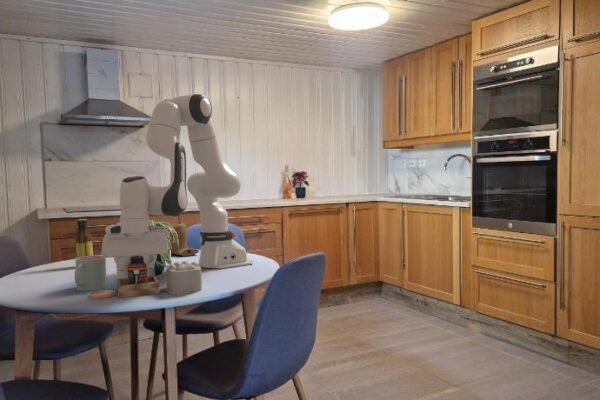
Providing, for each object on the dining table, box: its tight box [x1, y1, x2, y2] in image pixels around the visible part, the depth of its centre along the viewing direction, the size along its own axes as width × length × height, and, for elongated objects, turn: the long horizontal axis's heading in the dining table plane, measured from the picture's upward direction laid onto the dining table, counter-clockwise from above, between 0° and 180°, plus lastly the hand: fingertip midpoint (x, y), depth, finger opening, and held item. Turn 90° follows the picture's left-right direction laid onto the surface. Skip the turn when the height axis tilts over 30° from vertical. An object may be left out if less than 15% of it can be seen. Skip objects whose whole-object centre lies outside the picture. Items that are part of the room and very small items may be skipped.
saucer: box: [89, 289, 117, 300], centre depth 145 cm, size 8×8×1 cm
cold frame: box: [115, 255, 160, 298], centre depth 152 cm, size 12×16×14 cm
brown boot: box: [170, 222, 200, 257], centre depth 219 cm, size 15×12×15 cm
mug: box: [74, 255, 107, 292], centre depth 154 cm, size 14×9×10 cm
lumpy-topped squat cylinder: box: [165, 260, 203, 295], centre depth 153 cm, size 10×13×9 cm
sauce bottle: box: [74, 218, 94, 258], centre depth 194 cm, size 7×6×20 cm
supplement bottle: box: [128, 256, 147, 285], centre depth 150 cm, size 6×6×11 cm
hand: (135, 269), depth 149 cm, fingers open, 8 cm apart
